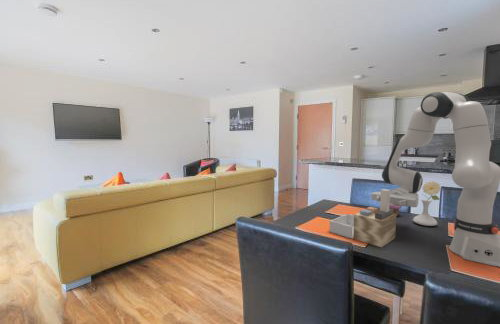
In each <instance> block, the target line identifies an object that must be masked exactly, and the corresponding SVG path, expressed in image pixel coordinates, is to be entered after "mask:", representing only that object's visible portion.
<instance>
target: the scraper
mask: <svg viewBox="0 0 500 324" xmlns="http://www.w3.org/2000/svg"><path fill="white" fill-rule="evenodd" d="M390 191H391V189H387V188H381V189H380V192H381V196H380V201H379V210H380V211H378V212H376V213H375V218H376V219H380V220H382V219H384V218H386V217H388V216H390V215H392V214H393V209H391V208H389V205H390Z"/></svg>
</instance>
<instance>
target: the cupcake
mask: <svg viewBox="0 0 500 324" xmlns="http://www.w3.org/2000/svg"><path fill="white" fill-rule="evenodd" d="M402 207H403V206H395V205H393V204H392V203H390V205H389V208H391V209H393V213H394V214H396V217H398V216H399V211H400V209H401V208H402Z"/></svg>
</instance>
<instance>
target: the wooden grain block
mask: <svg viewBox="0 0 500 324" xmlns="http://www.w3.org/2000/svg"><path fill="white" fill-rule="evenodd" d="M378 211H380V209H378ZM353 215H354V230H353V238H352V239H354V240H355V241H359V242H363V243H366V244H369V245H373V246H376V247H379V248H383V247H384V246H386V245H388V243H390V242H391V241H393V240H394V239H396V229H397V228H396V227H397V216H396V214H394V213H393V214H392V215H390V216H388V217H386V218H384V219H382V220H380V219H376V218H375V213H372V215H369V216H366V215H362V214H360V211H359V212H356V213H354V214H353Z"/></svg>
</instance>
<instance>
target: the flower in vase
mask: <svg viewBox="0 0 500 324" xmlns="http://www.w3.org/2000/svg"><path fill="white" fill-rule="evenodd" d="M441 189H442V188H441V184H439V183H438V182H436V181H434V180H433V181H428V182H425V183H424V184H423V185H422V191H423V193H425V194H423V193H421V195H422V196H423V197H426V198H427V199H426V198H425V199H424V198H422V199H420V201H421V203H422V206H423V209H422V212H421V213H420V214H418V215H415V216H414V217H412V221H413V222H414V223H415V224H418V225H421V226H426V227H428V226H429V227H433V226H436V225H438V222H437V220H436V219H435V218H434V217H433V216H432V215H430V214H429V207H430V204H431V203H432V201H439V200H440V197H439V196H437V194H439V192H440V191H441ZM426 194H427V195H429V197H428V196H427V195H426ZM431 199H432V200H431Z"/></svg>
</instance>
